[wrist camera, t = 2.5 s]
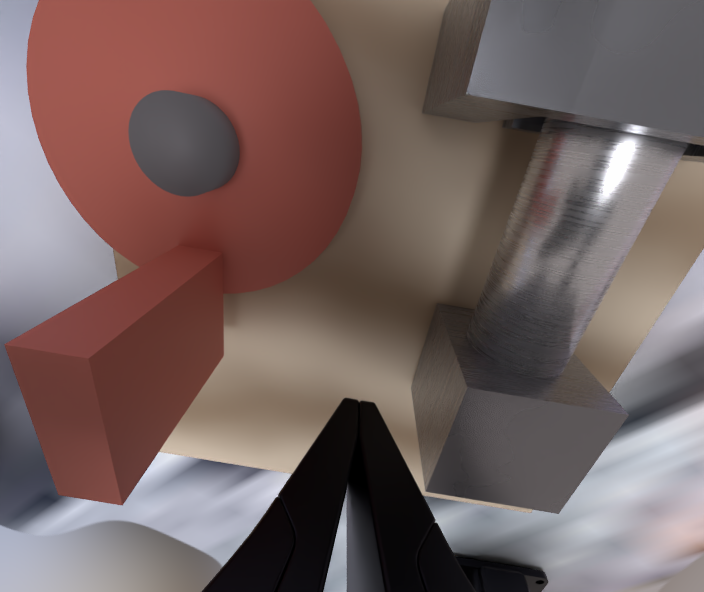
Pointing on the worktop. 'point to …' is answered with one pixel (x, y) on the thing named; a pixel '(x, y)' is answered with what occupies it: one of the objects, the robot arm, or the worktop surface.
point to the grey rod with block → (538, 326)
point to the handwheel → (175, 204)
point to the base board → (405, 264)
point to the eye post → (574, 66)
